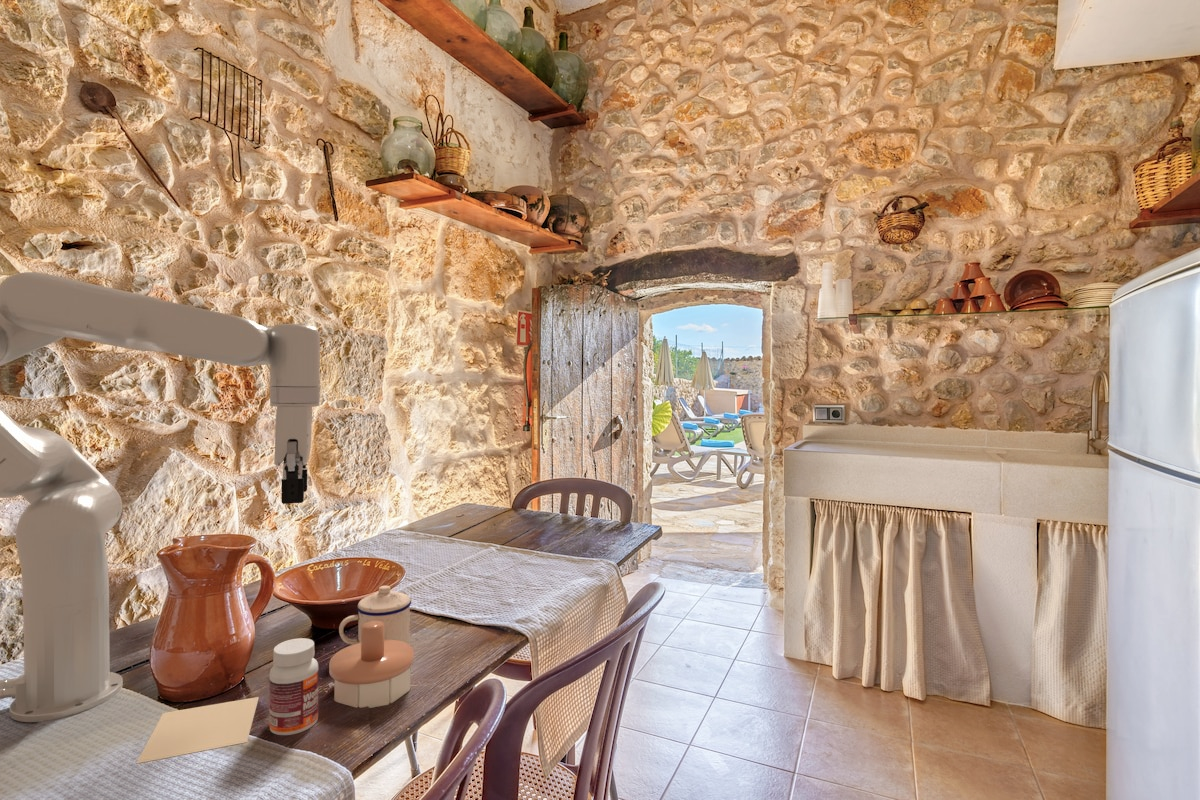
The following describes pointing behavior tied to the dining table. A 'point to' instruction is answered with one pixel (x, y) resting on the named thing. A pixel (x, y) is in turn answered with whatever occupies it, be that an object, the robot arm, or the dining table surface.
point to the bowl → (373, 691)
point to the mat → (200, 729)
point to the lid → (371, 658)
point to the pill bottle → (293, 687)
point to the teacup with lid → (382, 615)
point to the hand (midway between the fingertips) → (295, 497)
